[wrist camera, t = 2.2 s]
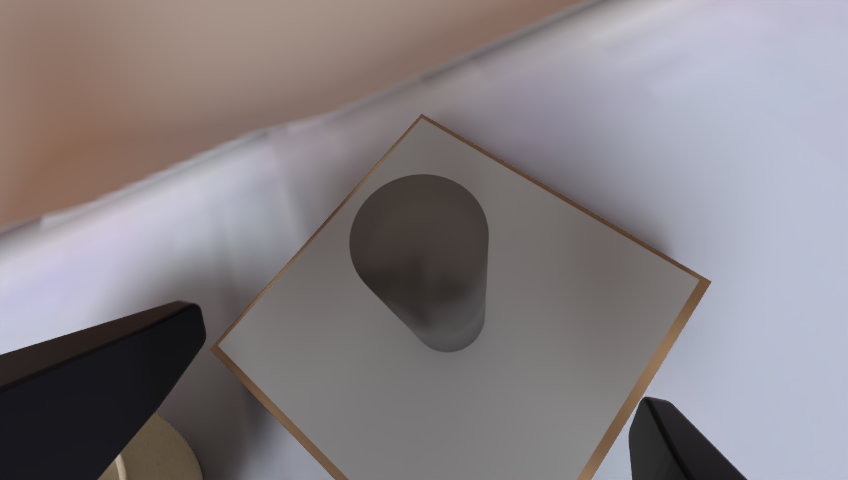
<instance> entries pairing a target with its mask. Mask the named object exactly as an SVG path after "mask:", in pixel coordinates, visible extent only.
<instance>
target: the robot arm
mask: <svg viewBox="0 0 848 480" xmlns="http://www.w3.org/2000/svg"><path fill="white" fill-rule="evenodd" d="M205 340H206V330H205V325H204V321H203V316H202V311H201V308H200V306H199V305H198V304H196V303H192V302H187V301H181V300H180V301H175V302H172V303H168V304H165V305H162V306H159V307H155V308H152V309H149V310H146V311H142V312H139V313H136V314H132V315H129V316H126V317H123V318H119V319H116V320H113V321H110V322H106V323H103V324H100V325H97V326H93V327H90V328H87V329H83V330H80V331H77V332H74V333H70V334H67V335H64V336H61V337H57V338H54V339H51V340H48V341H44V342H41V343H38V344H34V345H31V346H28V347H25V348H21V349H18V350H15V351H12V352H8V353H5V354H2V355H0V480H98V479H99V478H100V477H101V475H102V474H103V473H104V472H105V471H106V469H107V468H108V467H109V466H110V465H111V464H112V462H113V461H114V460H115V459H116V458H117V456H118V455H119V454H120V453H121V452H122V451H123V449H124V448H125V447H126V446H127V445H128V443H129V442H130V441H131V440H132V439H133V438H134V436H135V435H136V434H137V433H138V432H139V430H140V429H141V428H142V427H143V426H144V425H145V423H146V422H147V421H148V420H149V419H150V417H151V416H152V415H153V414H154V413H155V411H156V410H157V409H158V408H159V406H160V405H161V404H162V402H163V401H164V400H165V398H166V397H167V396H168V394H169V393H170V391H171V390H172V389H173V387H174V386H175V384H176V383H177V382H178V380H179V379H180V377H181V376H182V375H183V373H184V372H185V370H186V369H187V367H188V366H189V365H190V363H191V362H192V360H193V359H194V358H195V356H196V355H197V353H198V352H199V351H200V349H201V348H202V346H203V345H204V342H205ZM629 450H630V460H631V470H632V480H747V479H746V478H745V477H744V476H743V475H742V474H741V473H740V472H739V471H738V470H737V469H736V468H735V467H734V466H733V465H732V464H731V463H730V462H729V461H728V460H727V459H726V458H725V457H724V456H723V455H722V454H721V452H720V451H719V450H718V449H717V448H716V447H715V446H714V445H713V444H712V443H711V442H710V441H709V440H708V439H707V438H706V437H705V436H704V435H703V434H702V433H701V432H700V431H699V430H698V429H697V428H696V427H695V426H694V425H693V424H692V423H691V422H690V421H689V420H688V419H687V418H686V417H685V416H684V415H683V414H682V413H681V412H680V411H679V410H678V409H677V408H676V407H675V406H674V405H673V404H672V403H670V402H669V401H666V400H662V399H657V398H652V397H644V398H643V399H642V400H641V401H640V403H639V406H638V409H637V411H636V414H635V417H634V419H633V422H632V425H631V427H630V431H629Z"/></svg>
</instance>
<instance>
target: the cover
mask: <svg viewBox="0 0 848 480" xmlns="http://www.w3.org/2000/svg"><path fill="white" fill-rule="evenodd" d="M698 282H699V279H697V278H695V277H694V276H692V275H690V274H688V273H687V272H685V271H683V270H682V269H680V268H678V267H676V266H675V265H673V264H671V263H670V262H668V261H666V260H664V259H663V258H661V257H659V256H658V255H656V254H654V253H652V252H651V251H649V250H647V249H646V248H644V247H642V246H640V245H639V244H637V243H635V242H634V241H632V240H630V239H628V238H627V237H625V236H623V235H622V234H620V233H618V232H616V231H615V230H613V229H611V228H610V227H608V226H606V225H604V224H603V223H601V222H599V221H597V220H596V219H594V218H592V217H591V216H589V215H587V214H585V213H584V212H582V211H580V210H579V209H577V208H575V207H573V206H572V205H570V204H568V203H567V202H565V201H563V200H561V199H560V198H558V197H556V196H555V195H553V194H551V193H549V192H548V191H546V190H544V189H543V188H541V187H539V186H537V185H536V184H534V183H532V182H531V181H529V180H527V179H525V178H524V177H522V176H520V175H519V174H517V173H515V172H513V171H512V170H510V169H508V168H507V167H505V166H503V165H501V164H500V163H498V162H496V161H495V160H493V159H491V158H489V157H488V156H486V155H484V154H483V153H481V152H479V151H477V150H476V149H474V148H472V147H471V146H469V145H467V144H465V143H464V142H462V141H460V140H459V139H457V138H455V137H453V136H452V135H450V134H448V133H447V132H445V131H443V130H441V129H440V128H438V127H436V126H435V125H433V124H431V123H429V122H428V121H426V120H424V119H423V118H421V119H420V120H419V122H418V123H417V124H416V125H415V126H414V127H413V128H412V129H411V130H410V132H409V133H408V134H407V135H406V136H405V137H404V138H403V139H402V141H401V142H400V143H399V144H398V145H397V146H396V147H395V148H394V149H393V151H392V152H391V153H390V154H389V155H388V156H387V157H386V158H385V160H384V161H383V162H382V163H381V164H380V165H379V166H378V167H377V168H376V170H375V171H374V172H373V173H372V174H371V175H370V176H369V177H368V178H367V180H366V181H365V182H364V183H363V184H362V185H361V186H360V187H359V189H358V190H357V191H356V192H355V193H354V194H353V195H352V196H351V197H350V199H349V200H348V201H347V202H346V203H345V204H344V205H343V206H342V207H341V209H340V210H339V211H338V212H337V213H336V214H335V215H334V216H333V218H332V219H331V220H330V221H329V222H328V223H327V224H326V225H325V226H324V228H323V229H322V230H321V231H320V232H319V233H318V234H317V235H316V236H315V238H314V239H313V240H312V241H311V242H310V243H309V244H308V245H307V247H306V248H305V249H304V250H303V251H302V252H301V253H300V254H299V255H298V257H297V258H296V259H295V260H294V261H293V262H292V263H291V264H290V265H289V267H288V268H287V269H286V270H285V271H284V272H283V273H282V274H281V276H280V277H279V278H278V279H277V280H276V281H275V282H274V283H273V284H272V286H271V287H270V288H269V289H268V290H267V291H266V292H265V293H264V295H263V296H262V297H261V298H260V299H259V300H258V301H257V302H256V303H255V305H254V306H253V307H252V308H251V309H250V310H249V311H248V312H247V313H246V315H245V316H244V317H243V318H242V319H241V320H240V321H239V322H238V324H237V325H236V326H235V327H234V328H233V329H232V330H231V331H230V332H229V334H228V335H227V336H226V337H225V338H224V339H223V340H222V341H221V342H220V344H219V345H218V346H219V347H220V348H221V349H222V350H223V351H224V352H225V353H226V354H227V356H228V357H229V358H230V359H231V360H232V361H233V362H234V363H235V364H236V365H237V366H238V367H239V368H240V369H241V370H242V371H243V372H244V373H245V374H246V375H247V376H248V377H249V378H250V379H251V380H252V381H253V382H254V383H255V384H256V385H257V386H258V387H259V388H260V389H261V390H262V391H263V392H264V393H265V394H266V395H267V396H268V398H269V399H270V400H271V401H272V402H273V403H274V404H275V405H276V406H277V407H278V408H279V409H280V410H281V411H282V412H283V413H284V414H285V415H286V416H287V417H288V418H289V419H290V420H291V421H292V422H293V423H294V424H295V425H296V426H297V427H298V428H299V429H300V430H301V431H302V432H303V433H304V434H305V435H306V436H307V437H308V438H309V440H310V441H311V442H312V443H313V444H314V445H315V446H316V447H317V448H318V449H319V450H320V451H321V452H322V453H323V454H324V455H325V456H326V457H327V458H328V459H329V460H330V461H331V462H332V463H333V464H334V465H335V466H336V467H337V468H338V469H339V470H340V471H341V472H342V473H343V474H344V475H345V476H346V477H347V478H348V479H349V480H577V478H578V477H579V475H580V473H581V472H582V470H583V469H584V467H585V465H586V464H587V462H588V460H589V459H590V457H591V456H592V454H593V452H594V451H595V449H596V447H597V446H598V444H599V443H600V441H601V439H602V438H603V436H604V434H605V433H606V431H607V430H608V428H609V426H610V425H611V423H612V422H613V420H614V418H615V417H616V415H617V413H618V412H619V410H620V409H621V407H622V405H623V404H624V402H625V400H626V399H627V397H628V396H629V394H630V392H631V391H632V389H633V387H634V386H635V384H636V383H637V381H638V379H639V378H640V376H641V374H642V373H643V371H644V370H645V368H646V366H647V365H648V363H649V361H650V360H651V358H652V357H653V355H654V353H655V352H656V350H657V349H658V347H659V345H660V344H661V342H662V340H663V339H664V337H665V336H666V334H667V332H668V331H669V329H670V327H671V326H672V324H673V323H674V321H675V319H676V318H677V316H678V314H679V313H680V311H681V310H682V308H683V306H684V305H685V303H686V301H687V300H688V298H689V297H690V295H691V293H692V292H693V290H694V288H695V287H696V285H697V284H698Z"/></svg>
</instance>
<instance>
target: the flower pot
mask: <svg viewBox="0 0 848 480" xmlns="http://www.w3.org/2000/svg"><path fill="white" fill-rule="evenodd" d="M98 480H203V477H202V472H201V468H200V466H199V463H198V461H197V458H196V456H195V454H194V452H193V450H192V449H191V447H190V446H189V444H188V443H187V442H186V440H185V439H184V438H183V437H182V436H181V434H180V433H179V432H178V431H177V430H176V429H175V428H174V427H173V426H172V425H170V424H169V423H168V422H167V421H166V420H164V419H163V418H162V417H161V416H159V415H158V414H156V413H154V414H153V415H152V416H151V417H150V419H149V420H148V421H147V422H146V423H145V425H144V426H143V427H142V428H141V429H140V430H139V432H138V433H137V434H136V435H135V436H134V438H133V439H132V440H131V441H130V442H129V443H128V445H127V446H126V447H125V448H124V449H123V451H122V452H121V453H120V454H119V455H118V456H117V458H116V459H115V460H114V461H113V462H112V464H111V465H110V466H109V467H108V468H107V469H106V471H105V472H104V473H103V474H102V475H101V477H100V478H99V479H98Z"/></svg>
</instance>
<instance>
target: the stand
mask: <svg viewBox="0 0 848 480" xmlns="http://www.w3.org/2000/svg"><path fill="white" fill-rule="evenodd" d="M421 118H423V119H424V120H426V121H428V122H429V123H431V124H433V125H435V126H436V127H438V128H440V129H441V130H443V131H445V132H447V133H448V134H450V135H452V136H453V137H455V138H457V139H459V140H460V141H462V142H464V143H465V144H467V145H469V146H471V147H472V148H474V149H476V150H477V151H479V152H481V153H483V154H484V155H486V156H488V157H489V158H491V159H493V160H495V161H496V162H498V163H500V164H501V165H503V166H505V167H507V168H508V169H510V170H512V171H513V172H515V173H517V174H519V175H520V176H522V177H524V178H525V179H527V180H529V181H531V182H532V183H534V184H536V185H537V186H539V187H541V188H543V189H544V190H546V191H548V192H549V193H551V194H553V195H555V196H556V197H558V198H560V199H561V200H563V201H565V202H567V203H568V204H570V205H572V206H573V207H575V208H577V209H579V210H580V211H582V212H584V213H585V214H587V215H589V216H591V217H592V218H594V219H596V220H597V221H599V222H601V223H603V224H604V225H606V226H608V227H610V228H611V229H613V230H615V231H616V232H618V233H620V234H622V235H623V236H625V237H627V238H628V239H630V240H632V241H634V242H635V243H637V244H639V245H640V246H642V247H644V248H646V249H647V250H649V251H651V252H652V253H654V254H656V255H658V256H659V257H661V258H663V259H664V260H666V261H668V262H670V263H671V264H673V265H675V266H676V267H678V268H680V269H682V270H683V271H685V272H687V273H688V274H690V275H692V276H694V277H695V278H697V279H699V282H698V284H697V285H696V287H695V288H694V290H693V292H692V293H691V295H690V297H689V298H688V300H687V301H686V303H685V305H684V306H683V308H682V310H681V311H680V313H679V314H678V316H677V318H676V319H675V321H674V323H673V324H672V326H671V327H670V329H669V331H668V332H667V334H666V336H665V337H664V339H663V340H662V342H661V344H660V345H659V347H658V349H657V350H656V352H655V353H654V355H653V357H652V358H651V360H650V361H649V363H648V365H647V366H646V368H645V370H644V371H643V373H642V374H641V376H640V378H639V379H638V381H637V383H636V384H635V386H634V387H633V389H632V391H631V392H630V394H629V396H628V397H627V399H626V400H625V402H624V404H623V405H622V407H621V409H620V410H619V412H618V413H617V415H616V417H615V418H614V420H613V422H612V423H611V425H610V426H609V428H608V430H607V431H606V433H605V434H604V436H603V438H602V439H601V441H600V443H599V444H598V446H597V447H596V449H595V451H594V452H593V454H592V456H591V457H590V459H589V460H588V462H587V464H586V465H585V467H584V469H583V470H582V472H581V473H580V475H579V477H578V478H577V480H591V479H592V477H593V476H594V474H595V472H596V471H597V469H598V468H599V466H600V464H601V463H602V461H603V459H604V458H605V456H606V454H607V453H608V451H609V449H610V448H611V446H612V445H613V443H614V441H615V440H616V438H617V436H618V435H619V433H620V431H621V430H622V428H623V426H624V425H625V423H626V421H627V420H628V418H629V417H630V415H631V413H632V412H633V410H634V408H635V407H636V405H637V403H638V402H639V400H640V398H641V397H642V395H643V394H644V392H645V390H646V389H647V387H648V385H649V384H650V382H651V380H652V379H653V377H654V375H655V374H656V372H657V371H658V369H659V367H660V366H661V364H662V362H663V361H664V359H665V357H666V356H667V354H668V352H669V351H670V349H671V347H672V346H673V344H674V343H675V341H676V339H677V338H678V336H679V334H680V333H681V331H682V329H683V328H684V326H685V324H686V323H687V321H688V320H689V318H690V316H691V315H692V313H693V311H694V310H695V308H696V306H697V305H698V303H699V301H700V300H701V298H702V296H703V295H704V293H705V292H706V290H707V288H708V287H709V285H710V283H711V281H709V280H708V279H706V278H704V277H702V276H701V275H699V274H697V273H695V272H694V271H692V270H690V269H689V268H687V267H685V266H683V265H682V264H680V263H678V262H676V261H675V260H673V259H671V258H670V257H668V256H666V255H664V254H663V253H661V252H659V251H657V250H656V249H654V248H652V247H651V246H649V245H647V244H645V243H644V242H642V241H640V240H638V239H637V238H635V237H633V236H632V235H630V234H628V233H626V232H625V231H623V230H621V229H619V228H618V227H616V226H614V225H613V224H611V223H609V222H607V221H606V220H604V219H602V218H600V217H599V216H597V215H595V214H594V213H592V212H590V211H588V210H587V209H585V208H583V207H581V206H580V205H578V204H576V203H575V202H573V201H571V200H569V199H568V198H566V197H564V196H562V195H561V194H559V193H557V192H556V191H554V190H552V189H550V188H549V187H547V186H545V185H543V184H542V183H540V182H538V181H537V180H535V179H533V178H531V177H530V176H528V175H526V174H524V173H523V172H521V171H519V170H517V169H516V168H514V167H512V166H511V165H509V164H507V163H505V162H504V161H502V160H500V159H498V158H497V157H495V156H493V155H492V154H490V153H488V152H486V151H485V150H483V149H481V148H479V147H478V146H476V145H474V144H473V143H471V142H469V141H467V140H466V139H464V138H462V137H460V136H459V135H457V134H455V133H454V132H452V131H450V130H448V129H447V128H445V127H443V126H441V125H440V124H438V123H436V122H435V121H433V120H431V119H429V118H428V117H426V116H424V115H422V114H421V115H420V117H419V118H418V119H417V120H416V121H415V122H414V123H413V124H412V126H411V127H410V128H409V129H408V130H407V131H406V132H405V133H404V134H403V136H402V137H401V138H400V139H399V140H398V141H397V142H396V143H395V144H394V146H393V147H392V148H391V149H390V150H389V151H388V152H387V153H386V154H385V156H384V157H383V158H382V159H381V160H380V161H379V162H378V163H377V164H376V166H375V167H374V168H373V169H372V170H371V171H370V172H369V173H368V174H367V176H366V177H365V178H364V179H363V180H362V181H361V182H360V183H359V184H358V186H357V187H356V188H355V189H354V190H353V191H352V192H351V193H350V194H349V196H348V197H347V198H346V199H345V200H344V201H343V202H342V203H341V204H340V206H339V207H338V208H337V209H336V210H335V211H334V212H333V213H332V215H331V216H330V217H329V218H328V219H327V220H326V221H325V222H324V223H323V225H322V226H321V227H320V228H319V229H318V230H317V231H316V232H315V233H314V235H313V236H312V237H311V238H310V239H309V240H308V241H307V242H306V243H305V245H304V246H303V247H302V248H301V249H300V250H299V251H298V252H297V253H296V255H295V256H294V257H293V258H292V259H291V260H290V261H289V262H288V263H287V265H286V266H285V267H284V268H283V269H282V270H281V271H280V272H279V273H278V275H277V276H276V277H275V278H274V279H273V280H272V281H271V282H270V283H269V285H268V286H267V287H266V288H265V289H264V290H263V291H262V292H261V294H260V295H259V296H258V297H257V298H256V299H255V300H254V301H253V302H252V304H251V305H250V306H249V307H248V308H247V309H246V310H245V311H244V312H243V314H242V315H241V316H240V317H239V318H238V319H237V320H236V321H235V322H234V324H233V325H232V326H231V327H230V328H229V329H228V330H227V331H226V332H225V334H224V335H223V336H222V337H221V338H220V339H219V340H218V341H217V342H216V344H215V345H214V346H213V347H212V348H211V349H210V350H211V351H212V352H213V353H214V354H215V355H216V356H217V357H218V358H219V359H220V360H221V361H222V362H223V364H224V365H225V366H226V367H227V368H228V369H229V370H230V371H231V372H232V373H233V374H234V375H235V376H236V377H237V378H238V379H239V380H240V381H241V382H242V383H243V384H244V385H245V386H246V387H247V388H248V390H249V391H250V392H251V393H252V394H253V395H254V396H255V397H256V398H257V399H258V400H259V401H260V402H261V403H262V404H263V405H264V406H265V407H266V408H267V409H268V410H269V411H270V412H271V413H272V414H273V416H274V417H275V418H276V419H277V420H278V421H279V422H280V423H281V424H282V425H283V426H284V427H285V428H286V429H287V430H288V431H289V432H290V433H291V434H292V435H293V436H294V437H295V438H296V439H297V440H298V442H299V443H300V444H301V445H302V446H303V447H304V448H305V449H306V450H307V451H308V452H309V453H310V454H311V455H312V456H313V457H314V458H315V459H316V460H317V461H318V462H319V463H320V464H321V465H322V466H323V468H324V469H325V470H326V471H327V472H328V473H329V474H330V475H331V476H332V477H333V478H334V479H335V480H349V479H348V478H347V477H346V476H345V475H344V474H343V473H342V472H341V471H340V470H339V469H338V468H337V467H336V466H335V465H334V464H333V463H332V462H331V461H330V460H329V459H328V458H327V457H326V456H325V455H324V454H323V453H322V452H321V451H320V450H319V449H318V448H317V447H316V446H315V445H314V444H313V443H312V442H311V441H310V440H309V438H308V437H307V436H306V435H305V434H304V433H303V432H302V431H301V430H300V429H299V428H298V427H297V426H296V425H295V424H294V423H293V422H292V421H291V420H290V419H289V418H288V417H287V416H286V415H285V414H284V413H283V412H282V411H281V410H280V409H279V408H278V407H277V406H276V405H275V404H274V403H273V402H272V401H271V400H270V399H269V398H268V396H267V395H266V394H265V393H264V392H263V391H262V390H261V389H260V388H259V387H258V386H257V385H256V384H255V383H254V382H253V381H252V380H251V379H250V378H249V377H248V376H247V375H246V374H245V373H244V372H243V371H242V370H241V369H240V368H239V367H238V366H237V365H236V364H235V363H234V362H233V361H232V360H231V359H230V358H229V357H228V356H227V354H226V353H225V352H224V351H223V350H222V349H221V348H220V347H219V346H218V345H219V344H220V342H221V341H222V340H223V339H224V338H225V337H226V336H227V335H228V334H229V332H230V331H231V330H232V329H233V328H234V327H235V326H236V325H237V324H238V322H239V321H240V320H241V319H242V318H243V317H244V316H245V315H246V313H247V312H248V311H249V310H250V309H251V308H252V307H253V306H254V305H255V303H256V302H257V301H258V300H259V299H260V298H261V297H262V296H263V295H264V293H265V292H266V291H267V290H268V289H269V288H270V287H271V286H272V284H273V283H274V282H275V281H276V280H277V279H278V278H279V277H280V276H281V274H282V273H283V272H284V271H285V270H286V269H287V268H288V267H289V265H290V264H291V263H292V262H293V261H294V260H295V259H296V258H297V257H298V255H299V254H300V253H301V252H302V251H303V250H304V249H305V248H306V247H307V245H308V244H309V243H310V242H311V241H312V240H313V239H314V238H315V236H316V235H317V234H318V233H319V232H320V231H321V230H322V229H323V228H324V226H325V225H326V224H327V223H328V222H329V221H330V220H331V219H332V218H333V216H334V215H335V214H336V213H337V212H338V211H339V210H340V209H341V207H342V206H343V205H344V204H345V203H346V202H347V201H348V200H349V199H350V197H351V196H352V195H353V194H354V193H355V192H356V191H357V190H358V189H359V187H360V186H361V185H362V184H363V183H364V182H365V181H366V180H367V178H368V177H369V176H370V175H371V174H372V173H373V172H374V171H375V170H376V168H377V167H378V166H379V165H380V164H381V163H382V162H383V161H384V160H385V158H386V157H387V156H388V155H389V154H390V153H391V152H392V151H393V149H394V148H395V147H396V146H397V145H398V144H399V143H400V142H401V141H402V139H403V138H404V137H405V136H406V135H407V134H408V133H409V132H410V130H411V129H412V128H413V127H414V126H415V125H416V124H417V123H418V122H419V120H420V119H421Z"/></svg>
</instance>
